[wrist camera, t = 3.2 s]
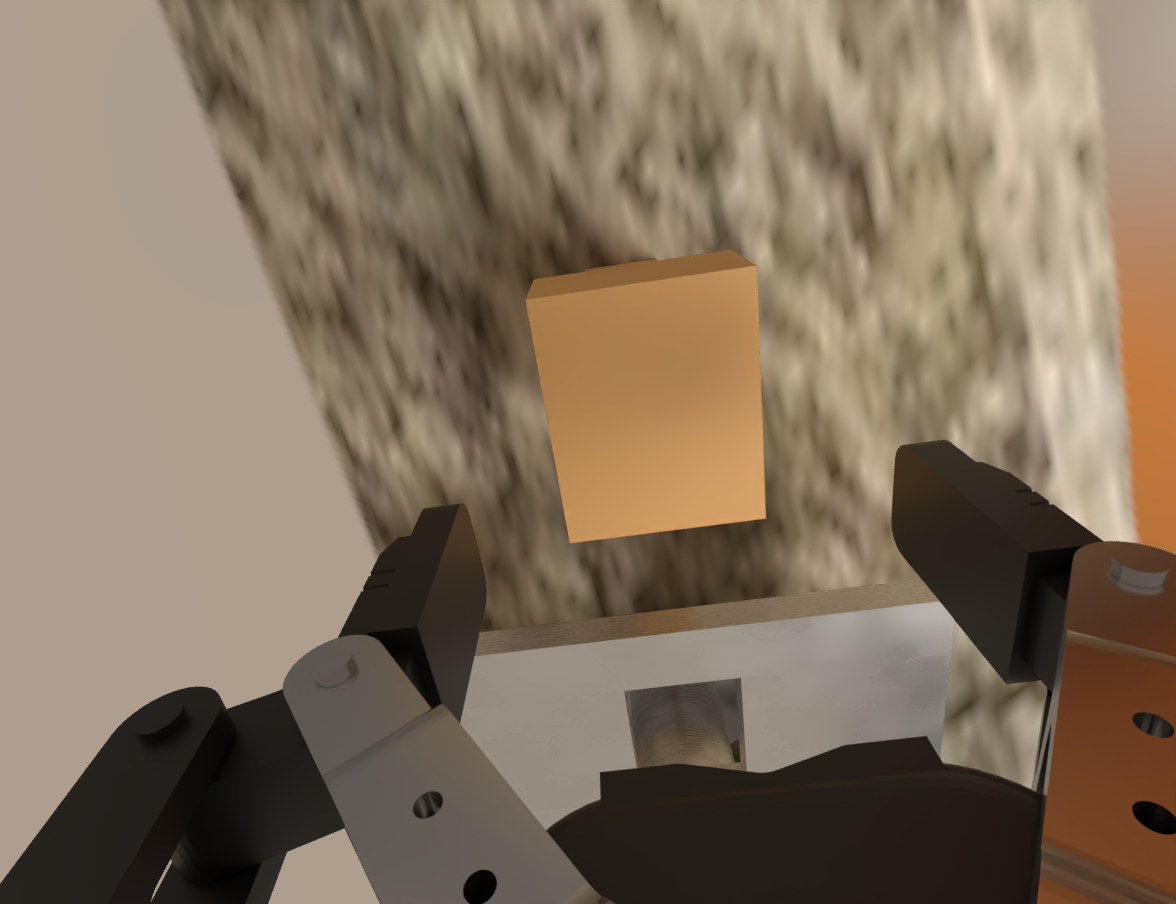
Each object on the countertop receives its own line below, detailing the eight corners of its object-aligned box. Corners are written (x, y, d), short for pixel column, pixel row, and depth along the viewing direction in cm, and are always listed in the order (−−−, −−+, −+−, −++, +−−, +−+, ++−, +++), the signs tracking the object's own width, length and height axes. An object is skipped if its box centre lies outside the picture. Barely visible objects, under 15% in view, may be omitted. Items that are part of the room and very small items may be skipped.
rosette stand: (834, 455, 31) (985, 632, 19) (830, 754, 39) (934, 1004, 27) (464, 504, 32) (395, 700, 20) (535, 786, 40) (516, 1040, 28)
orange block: (684, 222, 26) (756, 265, 15) (697, 384, 29) (765, 518, 18) (549, 243, 27) (524, 299, 16) (575, 401, 29) (569, 543, 18)
